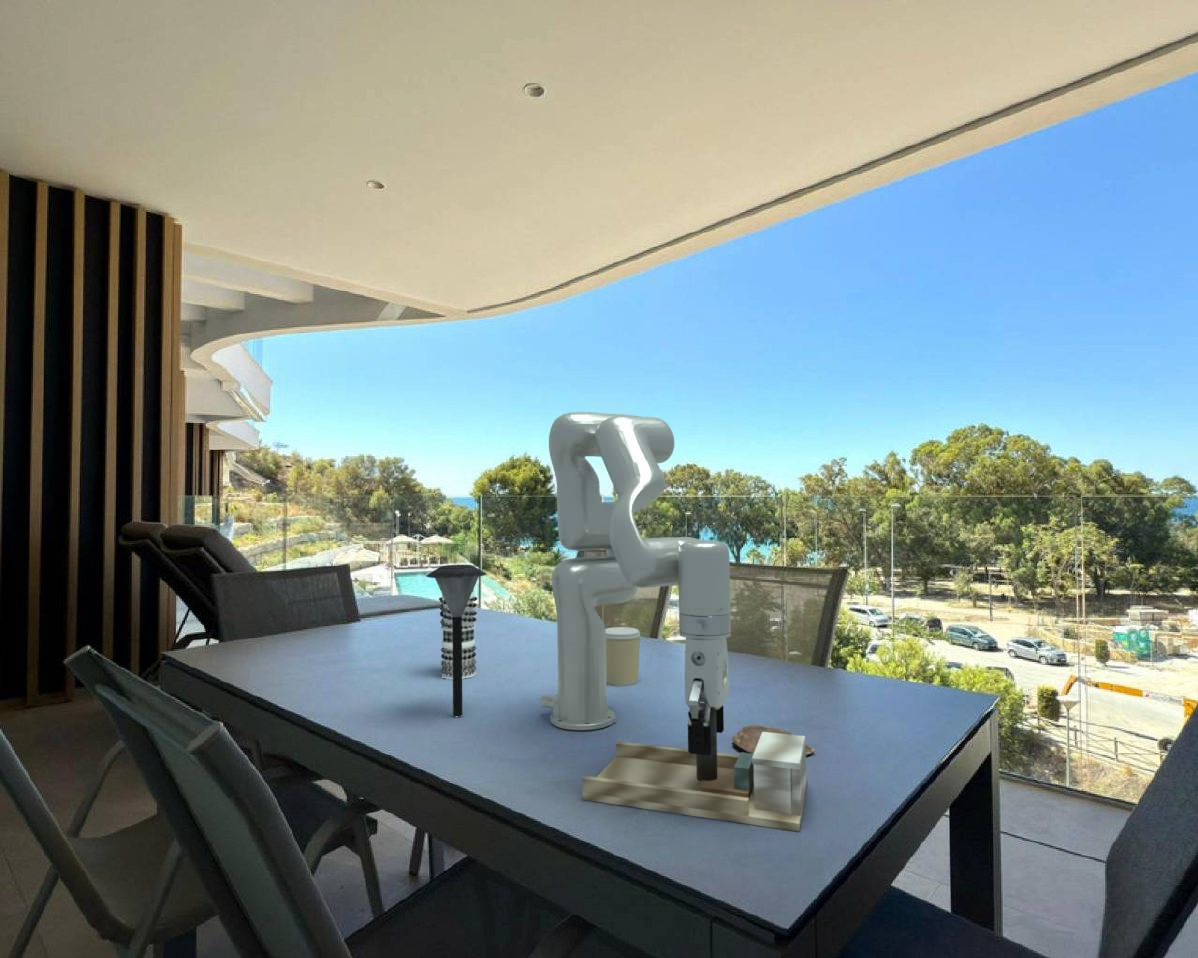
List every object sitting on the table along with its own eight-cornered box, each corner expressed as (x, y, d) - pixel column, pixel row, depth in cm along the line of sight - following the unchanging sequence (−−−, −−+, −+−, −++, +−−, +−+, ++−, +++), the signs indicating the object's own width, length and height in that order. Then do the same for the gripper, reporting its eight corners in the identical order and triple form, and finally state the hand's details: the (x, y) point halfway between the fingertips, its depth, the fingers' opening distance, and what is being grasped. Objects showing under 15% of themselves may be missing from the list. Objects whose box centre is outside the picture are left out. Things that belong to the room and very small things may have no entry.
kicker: (691, 793, 98) (689, 716, 98) (702, 771, 106) (701, 701, 106) (748, 800, 95) (746, 722, 96) (755, 778, 103) (754, 705, 103)
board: (582, 799, 99) (582, 744, 100) (618, 759, 114) (617, 712, 115) (799, 831, 89) (798, 770, 89) (807, 783, 104) (806, 730, 104)
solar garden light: (501, 714, 139) (499, 565, 140) (450, 730, 130) (449, 570, 131) (463, 703, 148) (462, 562, 148) (413, 717, 138) (413, 566, 139)
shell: (762, 768, 111) (762, 745, 111) (719, 743, 123) (719, 722, 123) (820, 757, 116) (819, 735, 116) (773, 733, 127) (772, 714, 127)
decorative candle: (470, 681, 166) (469, 576, 166) (433, 680, 167) (433, 576, 168) (482, 671, 175) (482, 572, 176) (447, 670, 176) (447, 572, 177)
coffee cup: (641, 676, 168) (641, 626, 168) (640, 687, 159) (639, 634, 159) (603, 676, 169) (603, 626, 169) (599, 686, 160) (599, 634, 160)
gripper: (719, 637, 93) (721, 766, 92) (739, 616, 109) (741, 726, 108) (665, 634, 95) (666, 760, 95) (692, 614, 111) (694, 721, 111)
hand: (706, 742), depth 102 cm, fingers open, 9 cm apart
